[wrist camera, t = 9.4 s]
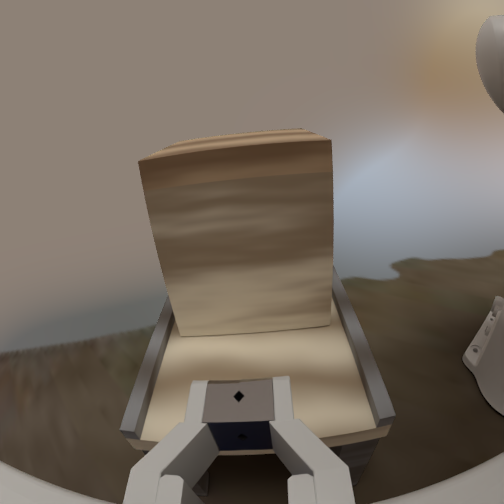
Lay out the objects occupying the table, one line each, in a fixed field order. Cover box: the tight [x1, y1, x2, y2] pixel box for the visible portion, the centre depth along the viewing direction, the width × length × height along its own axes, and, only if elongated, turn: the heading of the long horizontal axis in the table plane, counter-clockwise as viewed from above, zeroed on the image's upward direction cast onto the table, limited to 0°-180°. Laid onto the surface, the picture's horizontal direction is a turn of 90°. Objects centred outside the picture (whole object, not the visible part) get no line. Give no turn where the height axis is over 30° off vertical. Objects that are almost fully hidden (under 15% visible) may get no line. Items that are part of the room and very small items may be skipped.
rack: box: [120, 266, 396, 496], centre depth 27 cm, size 23×16×12 cm
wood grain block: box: [138, 128, 334, 336], centre depth 26 cm, size 12×12×14 cm
